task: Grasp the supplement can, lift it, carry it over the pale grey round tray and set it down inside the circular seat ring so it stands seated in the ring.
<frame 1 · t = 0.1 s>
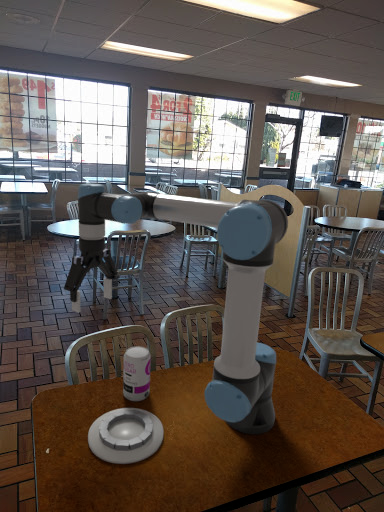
hand: (92, 304, 120), 28 cm above the table, fingers open, 13 cm apart
round tray: (126, 435, 105), on the table
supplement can: (136, 395, 123), on the table
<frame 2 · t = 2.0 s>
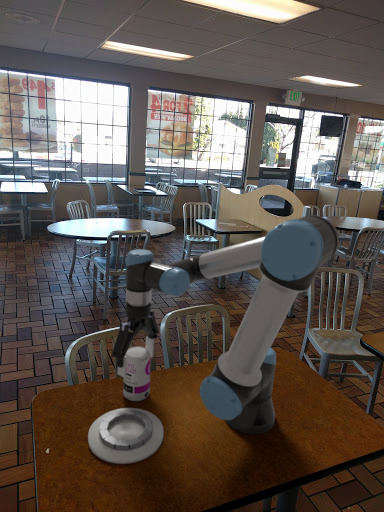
hand: (136, 365, 121), 10 cm above the table, fingers open, 13 cm apart
nothing on the table moved.
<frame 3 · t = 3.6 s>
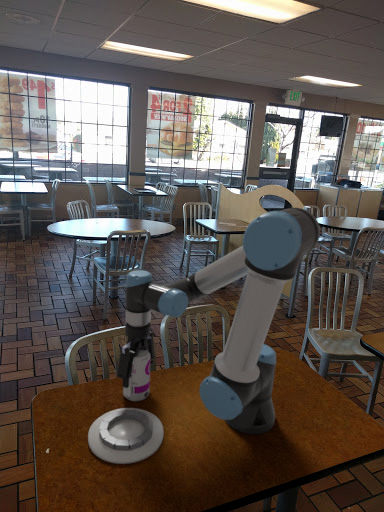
hand: (136, 388, 123), 2 cm above the table, fingers closed on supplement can, 8 cm apart
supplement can: (136, 394, 123), on the table, touching gripper
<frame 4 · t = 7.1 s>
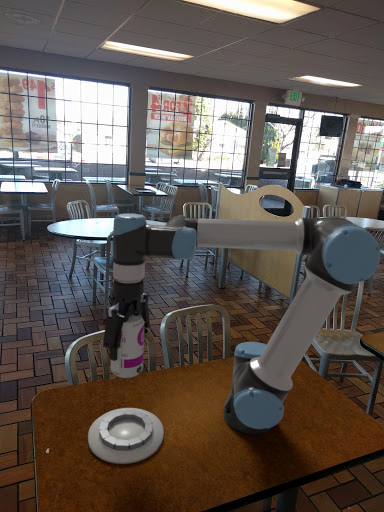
hand: (127, 362, 100), 22 cm above the table, fingers closed on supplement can, 8 cm apart
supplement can: (126, 371, 100), point 20 cm above the table, touching gripper
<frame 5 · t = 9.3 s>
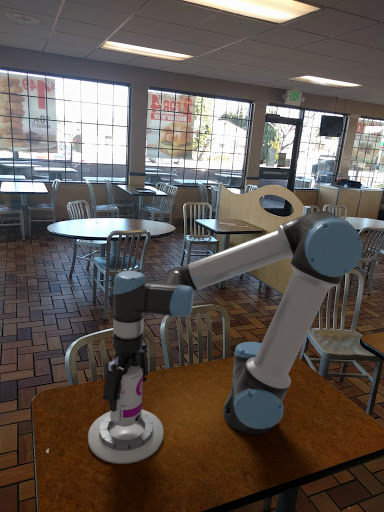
hand: (126, 410, 103), 8 cm above the table, fingers closed on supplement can, 8 cm apart
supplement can: (125, 418, 104), point 5 cm above the table, touching gripper
when the fingers open (5 cm above the table, at t = 10.9 s): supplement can drops 1 cm, resting on round tray.
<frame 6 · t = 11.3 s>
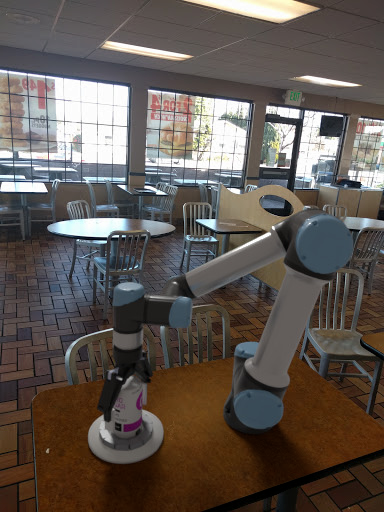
hand: (126, 415, 104), 6 cm above the table, fingers open, 13 cm apart
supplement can: (126, 431, 105), point 1 cm above the table, touching round tray
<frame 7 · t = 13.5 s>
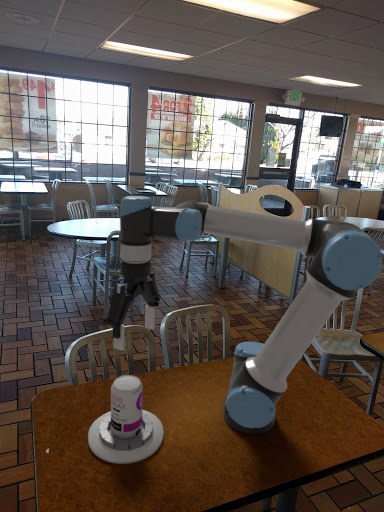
hand: (135, 338, 102), 27 cm above the table, fingers open, 13 cm apart
nothing on the table moved.
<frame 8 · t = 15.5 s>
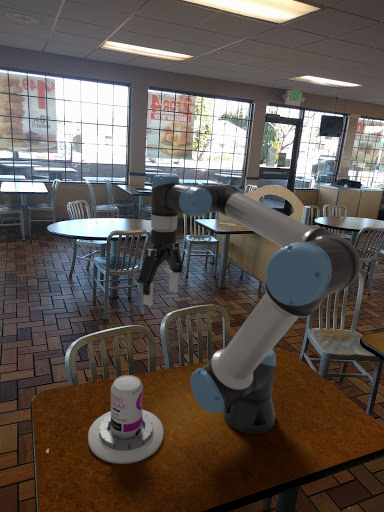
hand: (161, 298, 118), 32 cm above the table, fingers open, 13 cm apart
nothing on the table moved.
at the end: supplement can 0.0 cm off-centre on the round tray, point 1.0 cm above the round tray's base; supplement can tilted 0°; the gripper is holding nothing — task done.
